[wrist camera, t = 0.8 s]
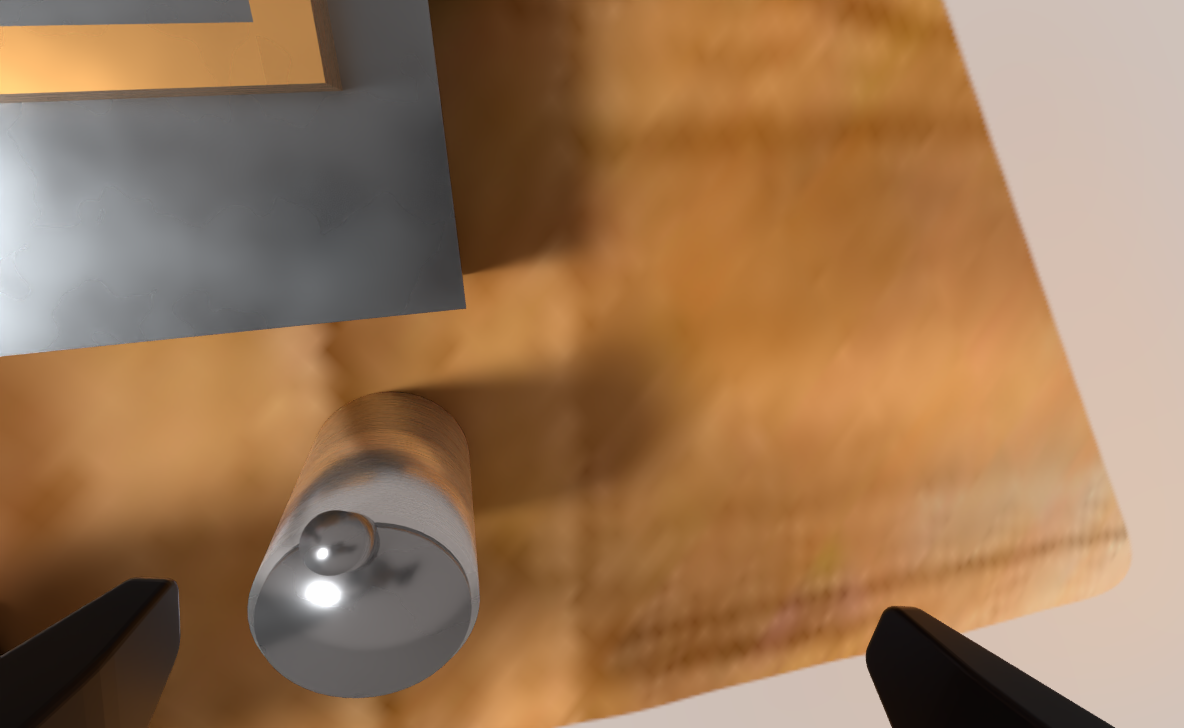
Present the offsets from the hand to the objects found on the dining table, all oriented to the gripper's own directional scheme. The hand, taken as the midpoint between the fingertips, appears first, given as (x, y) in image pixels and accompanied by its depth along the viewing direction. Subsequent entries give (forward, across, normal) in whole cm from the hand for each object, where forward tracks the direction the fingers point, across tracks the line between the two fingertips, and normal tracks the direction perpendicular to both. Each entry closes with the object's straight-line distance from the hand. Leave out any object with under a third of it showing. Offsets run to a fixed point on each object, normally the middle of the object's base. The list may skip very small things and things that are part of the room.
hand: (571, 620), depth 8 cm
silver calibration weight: (+13, +3, +6) cm, 14 cm away
